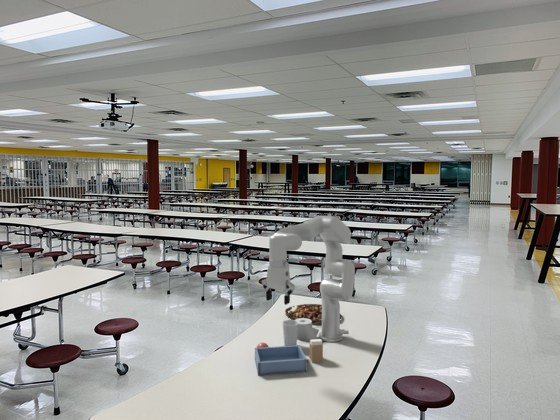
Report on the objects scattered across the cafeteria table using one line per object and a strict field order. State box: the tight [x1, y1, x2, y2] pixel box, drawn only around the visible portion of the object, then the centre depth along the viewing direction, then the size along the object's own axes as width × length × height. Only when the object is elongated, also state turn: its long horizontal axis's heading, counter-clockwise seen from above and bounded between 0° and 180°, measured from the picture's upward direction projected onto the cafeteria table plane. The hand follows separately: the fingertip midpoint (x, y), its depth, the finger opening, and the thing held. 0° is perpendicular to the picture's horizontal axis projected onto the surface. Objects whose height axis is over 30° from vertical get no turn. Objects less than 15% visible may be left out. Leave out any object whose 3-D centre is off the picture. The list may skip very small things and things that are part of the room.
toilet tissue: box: [295, 318, 320, 342], centre depth 207 cm, size 9×13×9 cm
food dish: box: [284, 303, 343, 326], centre depth 239 cm, size 35×33×8 cm
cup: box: [282, 319, 298, 346], centre depth 196 cm, size 8×8×12 cm
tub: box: [254, 344, 308, 377], centre depth 175 cm, size 21×15×6 cm
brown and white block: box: [309, 338, 324, 363], centre depth 180 cm, size 5×5×9 cm
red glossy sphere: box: [256, 342, 269, 348], centre depth 185 cm, size 6×6×6 cm
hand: (277, 301), depth 171 cm, fingers open, 9 cm apart
